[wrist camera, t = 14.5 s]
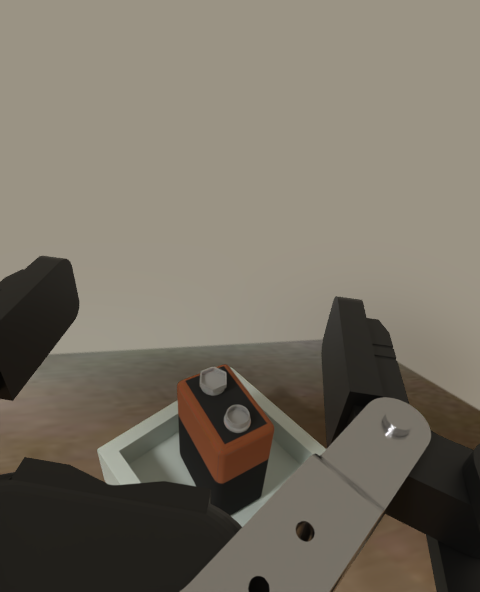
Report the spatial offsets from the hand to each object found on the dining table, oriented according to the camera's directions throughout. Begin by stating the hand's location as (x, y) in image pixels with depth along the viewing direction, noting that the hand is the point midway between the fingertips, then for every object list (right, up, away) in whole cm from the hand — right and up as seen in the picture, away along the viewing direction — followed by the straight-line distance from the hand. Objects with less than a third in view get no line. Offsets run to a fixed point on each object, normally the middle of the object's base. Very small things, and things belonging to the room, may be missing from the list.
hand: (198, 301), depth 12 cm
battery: (0, -15, +20) cm, 25 cm away
